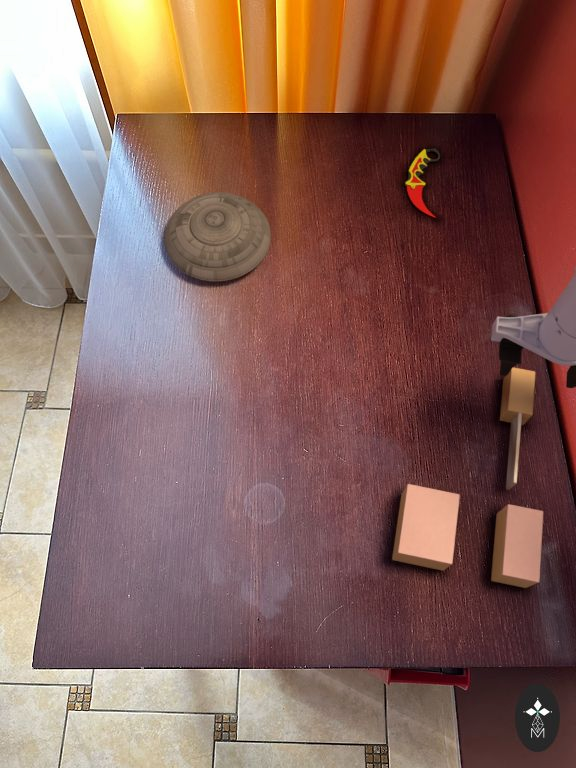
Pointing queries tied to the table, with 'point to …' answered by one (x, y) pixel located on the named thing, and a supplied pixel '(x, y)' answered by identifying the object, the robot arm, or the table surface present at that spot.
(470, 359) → the table surface
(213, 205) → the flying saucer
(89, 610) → the table surface
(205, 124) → the table surface
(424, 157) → the knife
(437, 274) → the table surface
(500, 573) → the light tan rectangular block
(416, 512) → the pink rectangular block
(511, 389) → the chisel
